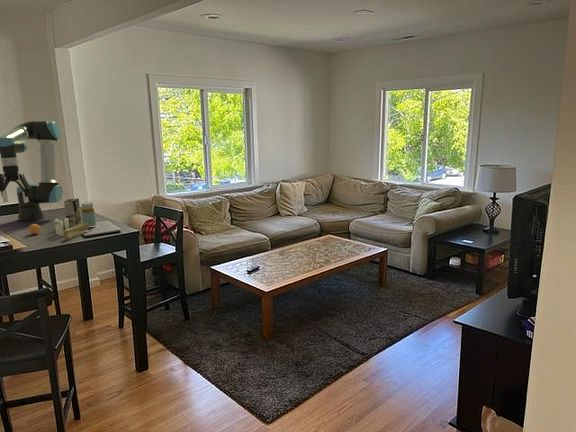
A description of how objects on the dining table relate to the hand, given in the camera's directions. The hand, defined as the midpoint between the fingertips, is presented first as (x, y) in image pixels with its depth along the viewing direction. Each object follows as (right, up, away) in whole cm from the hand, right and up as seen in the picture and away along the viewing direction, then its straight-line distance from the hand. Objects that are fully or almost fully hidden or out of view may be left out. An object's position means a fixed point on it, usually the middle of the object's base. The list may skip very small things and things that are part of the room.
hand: (16, 202), depth 249 cm
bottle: (+35, -15, +16) cm, 41 cm away
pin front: (+24, -19, 0) cm, 31 cm away
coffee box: (+23, -14, +22) cm, 35 cm away
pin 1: (+28, -19, -3) cm, 34 cm away
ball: (+9, -15, +2) cm, 18 cm away
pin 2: (+29, -18, +2) cm, 34 cm away
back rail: (+36, -19, -2) cm, 41 cm away
